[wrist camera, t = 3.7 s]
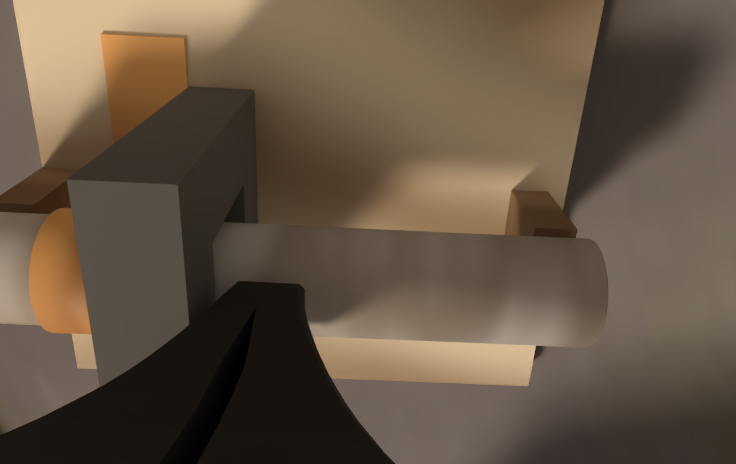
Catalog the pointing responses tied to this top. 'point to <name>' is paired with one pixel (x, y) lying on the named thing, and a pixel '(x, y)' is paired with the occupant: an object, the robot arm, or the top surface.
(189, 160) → the collar
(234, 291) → the robot arm
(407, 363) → the pipe stand
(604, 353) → the top surface
